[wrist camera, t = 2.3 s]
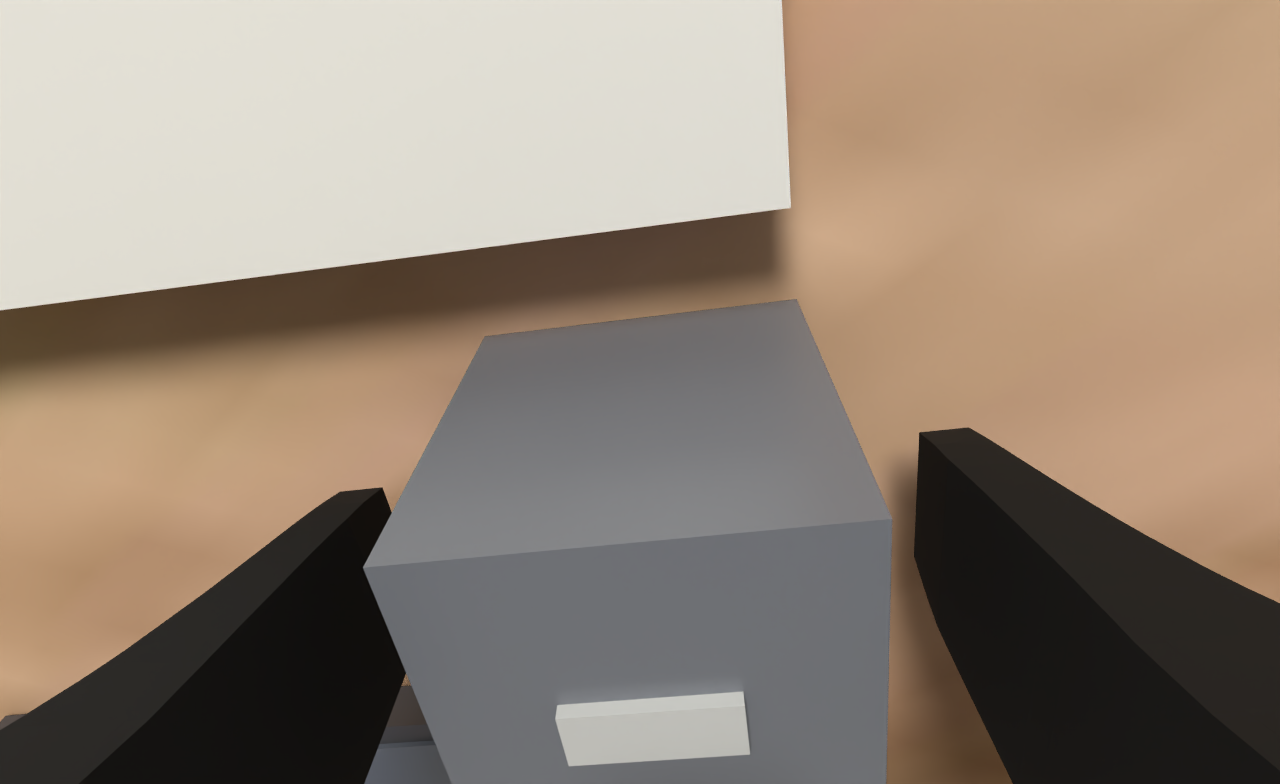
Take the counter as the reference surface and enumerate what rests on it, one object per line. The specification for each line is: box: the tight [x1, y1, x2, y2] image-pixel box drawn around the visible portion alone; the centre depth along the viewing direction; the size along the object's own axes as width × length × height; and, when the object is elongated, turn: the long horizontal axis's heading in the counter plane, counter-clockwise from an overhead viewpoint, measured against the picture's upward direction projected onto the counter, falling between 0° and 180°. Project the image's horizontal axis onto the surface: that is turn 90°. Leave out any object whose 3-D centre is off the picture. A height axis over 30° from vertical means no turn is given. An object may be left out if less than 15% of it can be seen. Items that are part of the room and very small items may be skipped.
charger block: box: [363, 299, 892, 784], centre depth 9 cm, size 4×4×5 cm
